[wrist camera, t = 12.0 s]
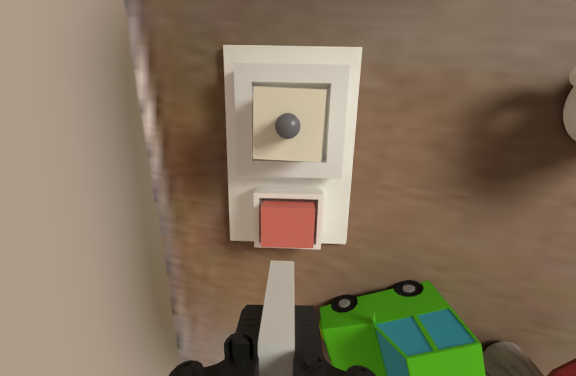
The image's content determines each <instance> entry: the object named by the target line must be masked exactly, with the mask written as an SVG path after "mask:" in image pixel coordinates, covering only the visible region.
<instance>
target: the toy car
mask: <svg viewBox="0 0 576 376" xmlns="http://www.w3.org/2000/svg"><path fill="white" fill-rule="evenodd" d="M420 283H421V284H419V283H418V282H416V281H412V280H406V281H402V282H399V283H397V285H396V286H395V291H394V289H389V290H385V291H381V292H376V293H372V294H368V295H363V296H359V297H356V298H357V300H356V298H355V297H354V296H351V295H341V296H338V297H336V298H335V299H334V300H333V301H332V306H331V304H330V305H326V306H322V307H320V311H319V318H320V323H319V328H320V333H321V336H322V339H323V340H324V342H325V345H326V348H327V351H328V355H329V358H330V361H331V365H332V366H334V367H336V368H338V369H341V370H344V371H346V370H347V369H348V368H349V367H351V366H354V365H361V366H364V367H367V368H368V369H370V370H371V371H373V372H374V374H375V375H376V376H486V374H485V367H484V360H483V352H482V345H481V343H480V342H479V340H478V339H477V338H476V337H475V336H474V334H473V333H472V332H471V331H470V330H469V328H468V327H467V326H466V325H465V324H464V322H463V321H462V320H461V319H460V317H459V316H458V315H457V314H456V313H455V311H454V310H453V309H452V308H451V307H450V305H449V304H448V303H447V302H446V301H445V299H444V298H443V297H442V296H441V295H440V293H439V292H438V291H437V290H436V289H435V287H434V286H433V285H432V284H431V283H430V281H429V280H428V281H424V282H420Z"/></svg>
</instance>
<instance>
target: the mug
mask: <svg viewBox="0 0 576 376" xmlns="http://www.w3.org/2000/svg"><path fill="white" fill-rule="evenodd" d="M569 82H570V83H571V85H572V86H574V87H573V88H572V90H571V91H570V93H569V95H568V97H567V99H566V102H565V105H564V109H563V122H564V126H565V129H566V131H567V133H568V134H569V135H570V137H571V138H572V139H573V140H575V141H576V67H575V68H574V69H573V70H572V71H571V72H570V74H569Z"/></svg>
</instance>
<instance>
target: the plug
mask: <svg viewBox="0 0 576 376" xmlns="http://www.w3.org/2000/svg"><path fill="white" fill-rule="evenodd" d="M326 93H327V90H326V89H304V88H282V87H259V86H254V97H253V159H265V160H285V161H306V162H321V158H322V145H323V132H324V119H325V106H326Z"/></svg>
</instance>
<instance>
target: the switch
mask: <svg viewBox="0 0 576 376" xmlns="http://www.w3.org/2000/svg"><path fill="white" fill-rule="evenodd" d="M314 225H315V205H314V202H292V201H263V203H262V205H261V247H282V248H313V245H314Z"/></svg>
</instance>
